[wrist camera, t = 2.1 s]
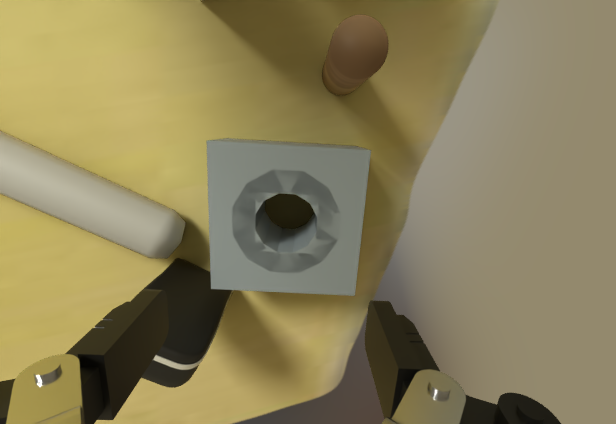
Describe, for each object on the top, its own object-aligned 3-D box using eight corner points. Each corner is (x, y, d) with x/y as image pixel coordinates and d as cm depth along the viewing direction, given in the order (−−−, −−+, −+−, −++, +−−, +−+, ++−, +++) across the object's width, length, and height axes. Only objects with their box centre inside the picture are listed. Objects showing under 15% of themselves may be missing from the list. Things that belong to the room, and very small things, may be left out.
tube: (187, 216, 26) (-132, 70, 22) (158, 273, 25) (-173, 133, 22) (199, 216, 31) (-58, 98, 28) (175, 264, 31) (-89, 150, 27)
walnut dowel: (323, 51, 26) (332, 12, 17) (362, 54, 26) (392, 16, 17) (320, 94, 27) (328, 77, 18) (358, 96, 27) (384, 80, 18)
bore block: (227, 138, 28) (206, 140, 22) (357, 146, 28) (371, 150, 22) (228, 258, 31) (210, 289, 25) (345, 264, 31) (354, 295, 25)
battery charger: (162, 284, 31) (84, 367, 20) (175, 254, 31) (103, 324, 20) (223, 311, 32) (181, 405, 21) (238, 283, 32) (202, 366, 21)
